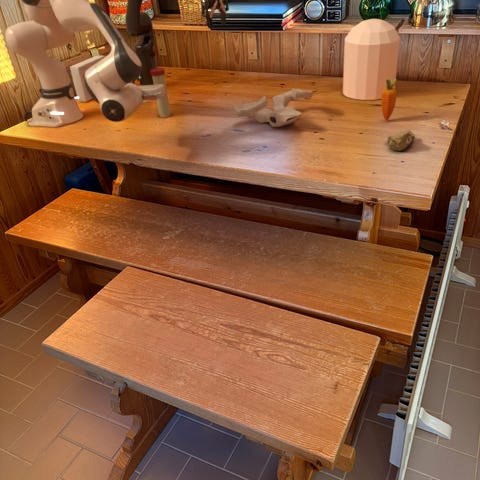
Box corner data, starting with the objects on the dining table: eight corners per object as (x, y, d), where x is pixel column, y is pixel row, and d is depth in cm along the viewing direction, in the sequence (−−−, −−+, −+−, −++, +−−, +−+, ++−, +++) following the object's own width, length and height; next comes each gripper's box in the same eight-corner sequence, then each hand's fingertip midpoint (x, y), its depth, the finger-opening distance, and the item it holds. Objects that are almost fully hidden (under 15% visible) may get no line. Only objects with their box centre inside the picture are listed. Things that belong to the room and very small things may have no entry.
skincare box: (87, 102, 214) (77, 67, 204) (78, 102, 215) (68, 66, 206) (113, 88, 229) (105, 54, 220) (104, 88, 231) (96, 54, 222)
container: (363, 103, 182) (369, 26, 166) (332, 90, 198) (334, 19, 182) (405, 92, 188) (414, 17, 172) (372, 81, 205) (377, 11, 189)
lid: (155, 71, 184) (154, 67, 183) (167, 72, 182) (166, 67, 181) (148, 75, 180) (147, 71, 179) (160, 76, 178) (159, 71, 177)
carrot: (394, 118, 167) (398, 76, 158) (393, 123, 163) (397, 80, 154) (379, 117, 168) (383, 75, 160) (378, 122, 165) (382, 80, 156)
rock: (408, 140, 153) (379, 139, 152) (414, 122, 149) (384, 120, 148) (421, 154, 144) (391, 153, 143) (428, 135, 140) (396, 133, 139)
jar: (163, 113, 193) (155, 69, 183) (173, 113, 191) (165, 69, 181) (157, 117, 190) (149, 72, 179) (167, 117, 188) (159, 72, 178)
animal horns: (230, 133, 167) (227, 101, 161) (244, 110, 188) (241, 81, 182) (308, 133, 161) (308, 99, 155) (313, 109, 182) (314, 78, 176)
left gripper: (157, 85, 149) (168, 76, 161) (98, 90, 152) (112, 80, 164) (161, 105, 152) (171, 94, 164) (102, 109, 155) (116, 98, 167)
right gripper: (216, -23, 183) (220, 22, 193) (193, -17, 174) (198, 29, 184) (231, -23, 180) (235, 22, 189) (208, -18, 170) (213, 30, 180)
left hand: (141, 87), depth 164 cm, fingers open, 8 cm apart
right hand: (217, 25), depth 186 cm, fingers open, 8 cm apart
